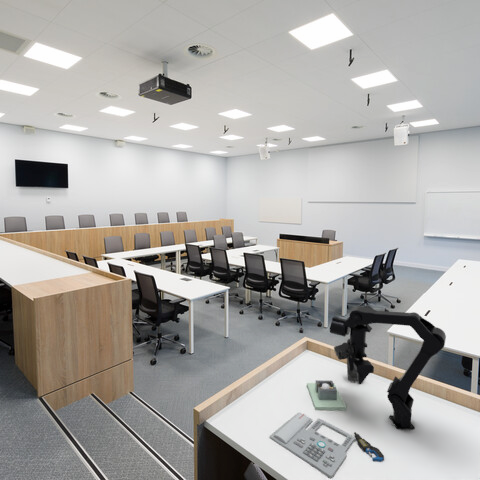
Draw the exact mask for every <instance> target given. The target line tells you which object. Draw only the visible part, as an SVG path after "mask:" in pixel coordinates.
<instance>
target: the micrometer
mask: <svg viewBox="0 0 480 480" xmlns="http://www.w3.org/2000/svg"><path fill="white" fill-rule="evenodd" d="M353 434H354V437H355V438H356V441H357V445H358V447H359V448H360V449H361V450H362V452H366V454H367V455H369V456H370V457H372V461H373V462H374V461H375V462H376V461H377V462H382V461H384V460H385V456H384V454H383V453H382V452H381V450H380V449H379V448H378V447H375V446H373V445H371V443H370V442H368V441H367V440H366V439H365V438H363V437H361V436H360V434H359V433H357V432H355V431H354V432H353ZM372 453H374V455H376V457H373V454H372Z"/></svg>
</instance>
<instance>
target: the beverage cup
mask: <svg viewBox="0 0 480 480" xmlns="http://www.w3.org/2000/svg"><path fill="white" fill-rule="evenodd" d="M346 369H347V372H346V373H347V380H348V381H349V382H351V383H358V378H357V372H356V371H355V370H354V369H353V371H350V368H349V364H348V359H347V358H346Z"/></svg>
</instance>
